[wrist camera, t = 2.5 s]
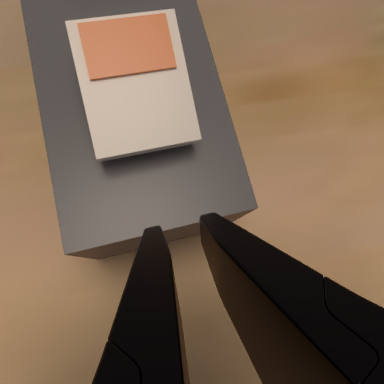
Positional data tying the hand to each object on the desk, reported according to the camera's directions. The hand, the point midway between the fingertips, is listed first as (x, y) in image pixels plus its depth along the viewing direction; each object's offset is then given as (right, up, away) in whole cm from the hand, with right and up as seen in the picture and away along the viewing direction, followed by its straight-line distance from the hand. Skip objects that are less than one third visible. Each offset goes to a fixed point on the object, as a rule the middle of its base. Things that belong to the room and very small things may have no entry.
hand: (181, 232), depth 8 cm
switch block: (-4, +7, +14) cm, 16 cm away
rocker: (-2, +5, +4) cm, 7 cm away
